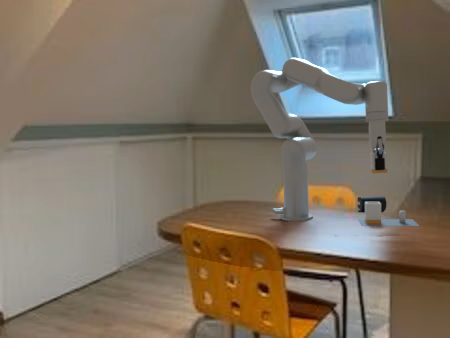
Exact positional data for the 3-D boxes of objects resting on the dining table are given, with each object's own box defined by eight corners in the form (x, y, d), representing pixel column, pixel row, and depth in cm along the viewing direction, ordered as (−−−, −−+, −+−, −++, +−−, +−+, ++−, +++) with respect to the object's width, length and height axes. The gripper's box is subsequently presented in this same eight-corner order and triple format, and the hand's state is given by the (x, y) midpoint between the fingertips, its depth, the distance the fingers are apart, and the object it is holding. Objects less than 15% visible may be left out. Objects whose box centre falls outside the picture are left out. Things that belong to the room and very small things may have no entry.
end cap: (362, 214, 204) (362, 198, 203) (356, 211, 211) (356, 195, 210) (386, 213, 204) (386, 197, 204) (380, 210, 211) (380, 194, 211)
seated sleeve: (366, 223, 178) (366, 203, 177) (364, 220, 183) (364, 201, 182) (381, 223, 177) (381, 203, 177) (379, 220, 182) (379, 201, 182)
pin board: (361, 229, 175) (361, 214, 175) (358, 223, 187) (358, 208, 186) (419, 230, 172) (419, 214, 172) (412, 223, 184) (412, 208, 183)
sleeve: (372, 173, 177) (371, 153, 176) (370, 172, 182) (370, 152, 181) (387, 172, 176) (386, 152, 175) (385, 171, 181) (384, 151, 180)
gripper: (363, 118, 186) (365, 168, 188) (368, 117, 170) (370, 171, 171) (384, 117, 185) (386, 167, 186) (391, 116, 168) (393, 170, 170)
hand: (379, 168), depth 179 cm, fingers closed on sleeve, 5 cm apart
